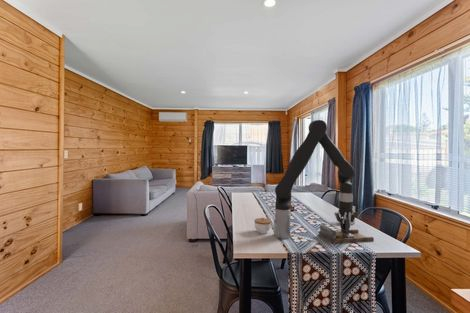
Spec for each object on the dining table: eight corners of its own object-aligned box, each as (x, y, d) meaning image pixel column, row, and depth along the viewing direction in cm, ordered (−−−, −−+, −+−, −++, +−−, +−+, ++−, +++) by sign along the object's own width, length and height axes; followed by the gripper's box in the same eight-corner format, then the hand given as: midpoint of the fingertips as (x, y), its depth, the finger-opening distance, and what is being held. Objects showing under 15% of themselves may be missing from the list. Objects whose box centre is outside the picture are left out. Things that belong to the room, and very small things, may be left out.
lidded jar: (274, 232, 152) (274, 218, 152) (263, 236, 145) (263, 221, 145) (262, 228, 160) (262, 214, 160) (250, 231, 153) (251, 217, 153)
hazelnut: (337, 239, 137) (337, 233, 137) (333, 236, 141) (333, 231, 141) (344, 238, 138) (344, 233, 138) (339, 236, 142) (340, 230, 142)
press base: (331, 245, 131) (332, 232, 131) (318, 236, 145) (319, 224, 145) (373, 243, 135) (373, 230, 135) (357, 234, 149) (357, 223, 149)
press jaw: (347, 241, 134) (348, 221, 134) (336, 234, 145) (336, 216, 145) (354, 240, 135) (354, 221, 135) (342, 234, 146) (342, 216, 146)
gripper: (338, 201, 135) (338, 231, 135) (360, 201, 137) (360, 230, 137) (331, 199, 142) (330, 227, 143) (352, 198, 144) (351, 226, 145)
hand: (345, 229), depth 140 cm, fingers closed on press jaw, 2 cm apart
